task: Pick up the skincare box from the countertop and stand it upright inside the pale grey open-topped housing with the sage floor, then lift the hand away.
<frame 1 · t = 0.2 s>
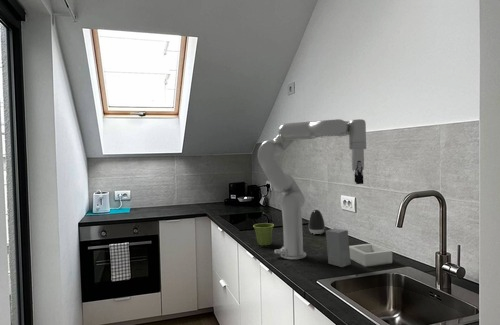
hand: (358, 183, 163), 36 cm above the worktop, tool pointing down, fingers open, 9 cm apart
black rounded dome: (316, 234, 221), on the worktop
housing: (369, 260, 164), on the worktop
plant pot: (264, 245, 198), on the worktop
skincare box: (338, 264, 160), on the worktop
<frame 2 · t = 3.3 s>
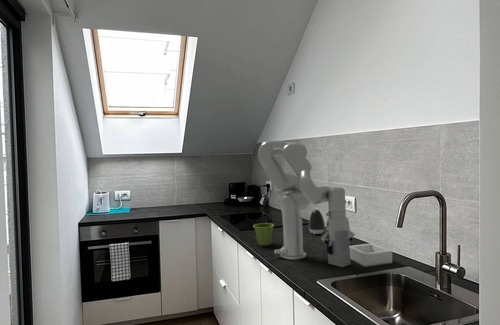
hand: (338, 252, 160), 5 cm above the worktop, tool pointing down, fingers closed on skincare box, 7 cm apart
skincare box: (338, 264, 160), on the worktop, touching gripper
everything else where it was.
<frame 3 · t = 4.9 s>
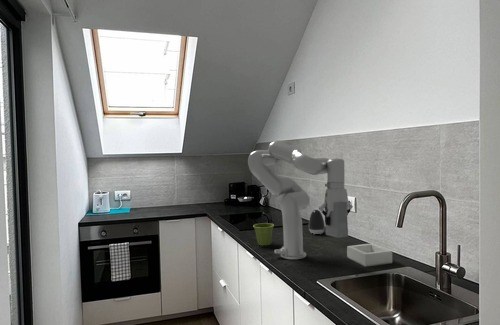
hand: (335, 224, 160), 18 cm above the worktop, tool pointing down, fingers closed on skincare box, 7 cm apart
skincare box: (335, 236, 160), point 13 cm above the worktop, touching gripper
everything else where it was.
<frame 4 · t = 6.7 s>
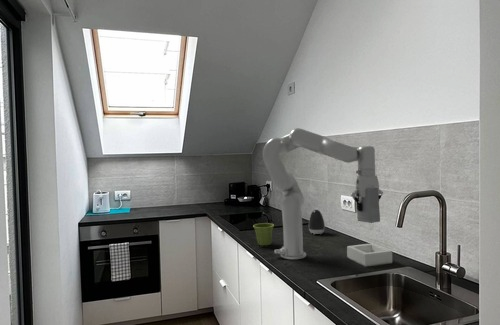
hand: (367, 210, 164), 24 cm above the worktop, tool pointing down, fingers closed on skincare box, 7 cm apart
skincare box: (367, 222, 164), point 18 cm above the worktop, touching gripper
everything else where it was.
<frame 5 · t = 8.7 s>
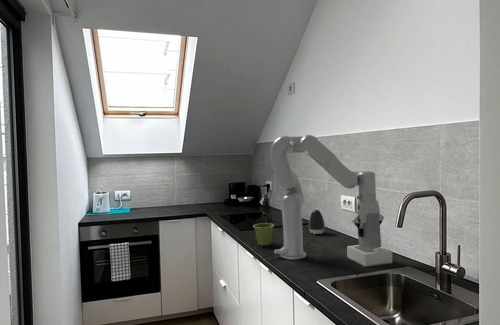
hand: (368, 235, 164), 12 cm above the worktop, tool pointing down, fingers closed on skincare box, 7 cm apart
skincare box: (369, 247, 164), point 6 cm above the worktop, touching gripper
everything else where it was.
when the fingers open (7 cm above the worktop, at t = 10.4 s): skincare box stays where it is, resting on housing.
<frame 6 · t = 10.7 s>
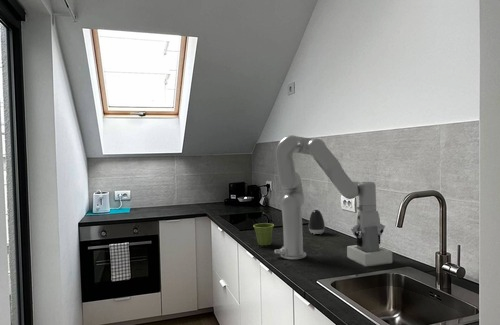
hand: (368, 244, 164), 7 cm above the worktop, tool pointing down, fingers open, 9 cm apart
skincare box: (368, 259, 164), resting on housing
everything else where it was.
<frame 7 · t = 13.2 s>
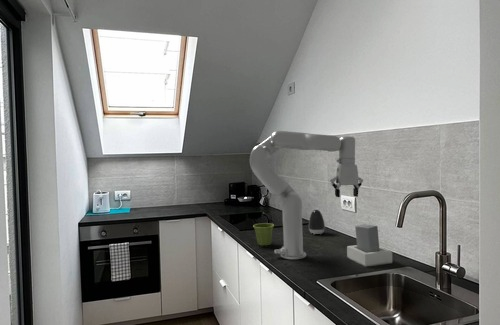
hand: (346, 196, 172), 29 cm above the worktop, tool pointing down, fingers open, 9 cm apart
nothing on the worktop moved.
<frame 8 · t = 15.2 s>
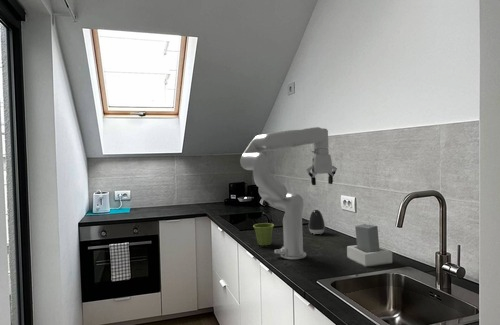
hand: (322, 184, 185), 34 cm above the worktop, tool pointing down, fingers open, 9 cm apart
nothing on the worktop moved.
at the end: skincare box 0.6 cm off-centre on the housing, point 0.4 cm above the housing's base; skincare box tilted 0°; the gripper is holding nothing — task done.
